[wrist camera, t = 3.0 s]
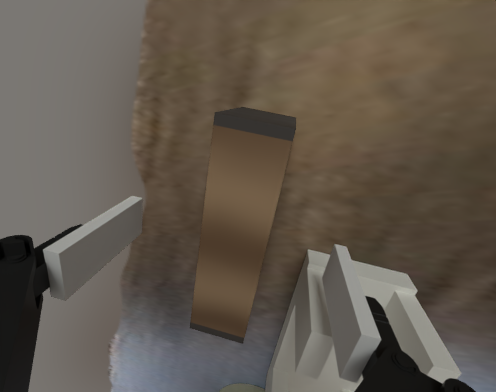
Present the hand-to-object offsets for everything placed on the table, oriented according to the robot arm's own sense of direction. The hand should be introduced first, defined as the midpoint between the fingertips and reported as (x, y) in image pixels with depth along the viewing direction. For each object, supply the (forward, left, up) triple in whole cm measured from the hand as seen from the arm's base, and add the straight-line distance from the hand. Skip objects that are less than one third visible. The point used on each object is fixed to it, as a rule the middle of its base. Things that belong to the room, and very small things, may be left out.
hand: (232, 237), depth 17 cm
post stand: (+12, +10, -5) cm, 16 cm away
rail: (0, 0, -5) cm, 5 cm away
